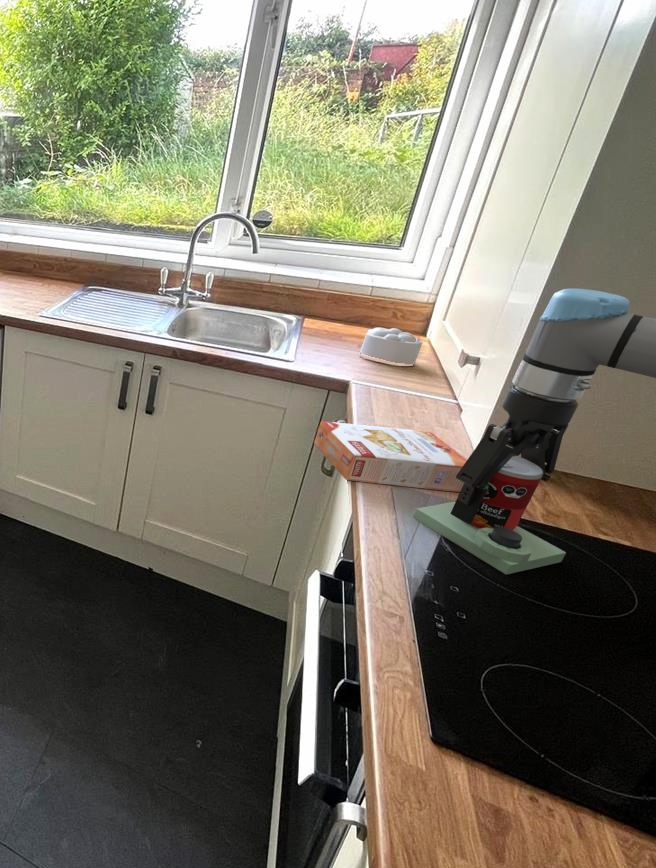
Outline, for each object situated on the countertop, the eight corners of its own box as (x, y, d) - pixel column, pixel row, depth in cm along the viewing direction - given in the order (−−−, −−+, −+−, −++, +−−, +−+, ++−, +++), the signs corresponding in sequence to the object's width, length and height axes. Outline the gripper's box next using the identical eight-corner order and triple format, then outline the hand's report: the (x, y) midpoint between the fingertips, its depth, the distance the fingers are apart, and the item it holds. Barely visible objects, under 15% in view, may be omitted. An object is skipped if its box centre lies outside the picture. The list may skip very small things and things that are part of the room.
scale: (561, 562, 89) (571, 544, 88) (503, 575, 86) (513, 557, 85) (463, 508, 102) (471, 491, 100) (410, 517, 99) (417, 500, 97)
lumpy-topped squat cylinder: (362, 349, 177) (371, 322, 174) (415, 360, 169) (425, 333, 166) (357, 358, 170) (366, 330, 167) (412, 370, 162) (423, 341, 159)
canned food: (441, 510, 98) (466, 454, 93) (471, 501, 100) (496, 446, 96) (495, 539, 91) (524, 479, 87) (525, 529, 94) (555, 470, 89)
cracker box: (481, 466, 103) (354, 454, 106) (468, 494, 106) (344, 482, 108) (431, 429, 116) (319, 419, 119) (420, 455, 119) (311, 445, 121)
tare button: (523, 547, 87) (528, 538, 87) (507, 551, 87) (512, 541, 86) (499, 534, 90) (503, 525, 90) (484, 537, 89) (488, 528, 89)
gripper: (518, 410, 80) (458, 538, 89) (628, 396, 86) (562, 518, 95) (461, 388, 87) (410, 509, 95) (566, 376, 93) (510, 491, 101)
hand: (486, 513), depth 95 cm, fingers open, 11 cm apart
